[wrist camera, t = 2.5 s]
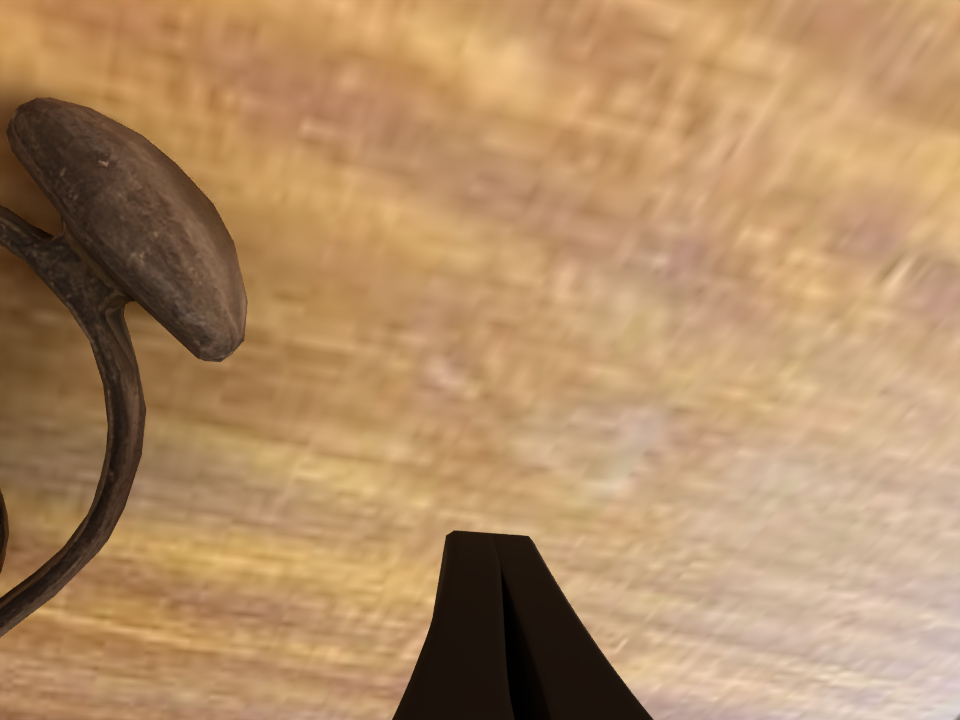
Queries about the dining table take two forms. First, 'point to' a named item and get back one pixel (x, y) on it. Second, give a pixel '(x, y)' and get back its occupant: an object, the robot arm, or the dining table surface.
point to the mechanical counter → (116, 288)
